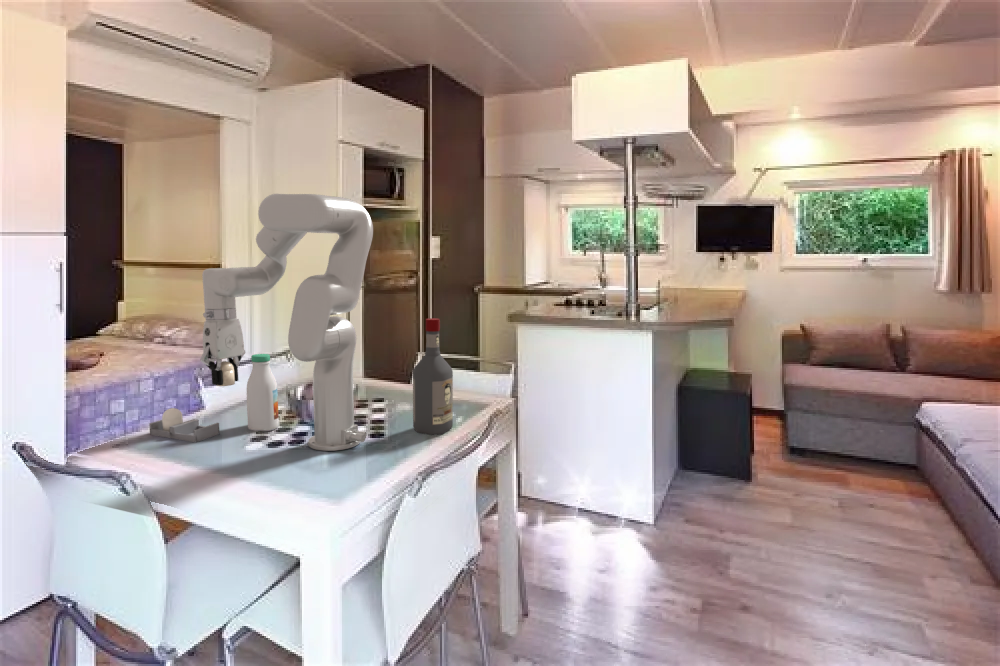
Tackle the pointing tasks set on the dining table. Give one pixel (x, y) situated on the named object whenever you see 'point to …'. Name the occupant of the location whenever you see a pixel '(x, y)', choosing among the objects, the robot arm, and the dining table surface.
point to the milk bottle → (262, 395)
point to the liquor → (432, 387)
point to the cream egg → (171, 418)
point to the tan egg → (227, 373)
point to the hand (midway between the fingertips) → (225, 382)
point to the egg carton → (185, 430)
